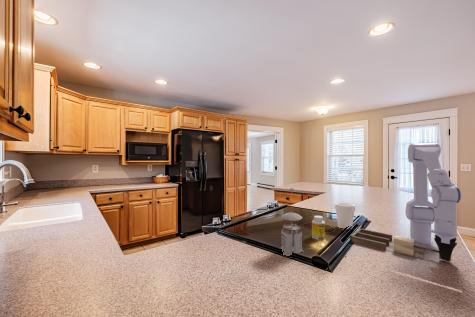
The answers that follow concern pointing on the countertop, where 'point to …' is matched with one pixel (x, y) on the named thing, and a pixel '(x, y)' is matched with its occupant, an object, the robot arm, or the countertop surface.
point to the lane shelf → (380, 242)
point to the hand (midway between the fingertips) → (445, 258)
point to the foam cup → (344, 214)
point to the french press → (291, 234)
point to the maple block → (408, 246)
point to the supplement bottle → (318, 228)
